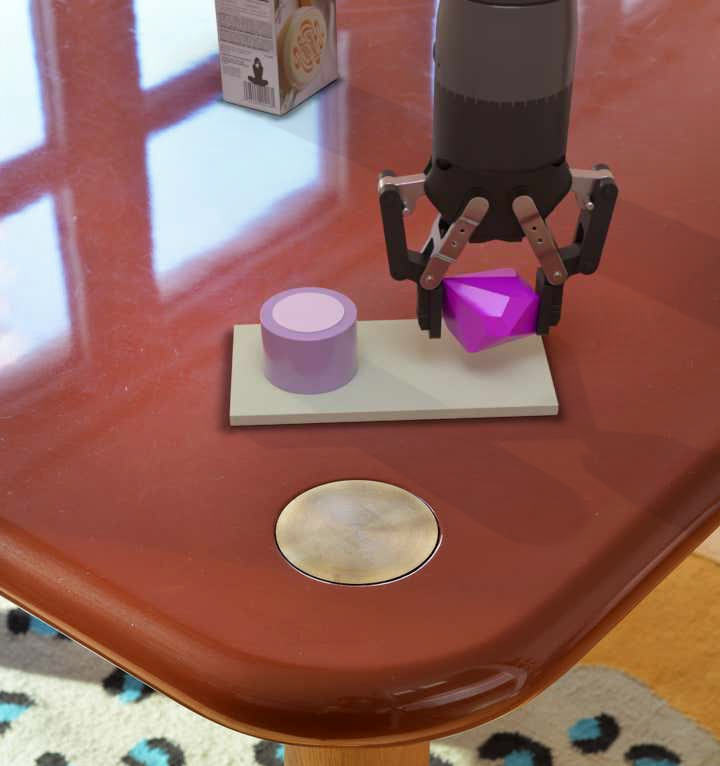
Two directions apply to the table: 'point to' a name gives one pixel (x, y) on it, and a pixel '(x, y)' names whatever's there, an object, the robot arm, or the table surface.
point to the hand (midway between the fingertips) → (487, 329)
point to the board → (400, 380)
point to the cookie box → (276, 51)
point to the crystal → (489, 308)
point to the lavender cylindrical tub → (309, 340)
